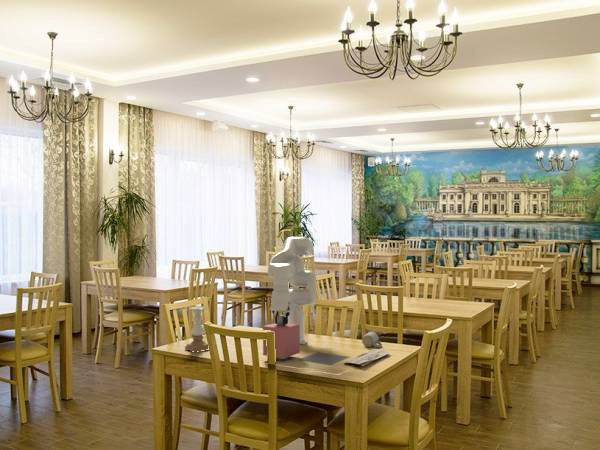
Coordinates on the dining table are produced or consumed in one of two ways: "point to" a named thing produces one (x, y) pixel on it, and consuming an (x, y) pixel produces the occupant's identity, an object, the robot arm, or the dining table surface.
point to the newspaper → (367, 357)
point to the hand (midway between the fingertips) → (281, 323)
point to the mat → (324, 358)
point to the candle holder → (197, 331)
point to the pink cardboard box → (284, 338)
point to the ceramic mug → (371, 340)
